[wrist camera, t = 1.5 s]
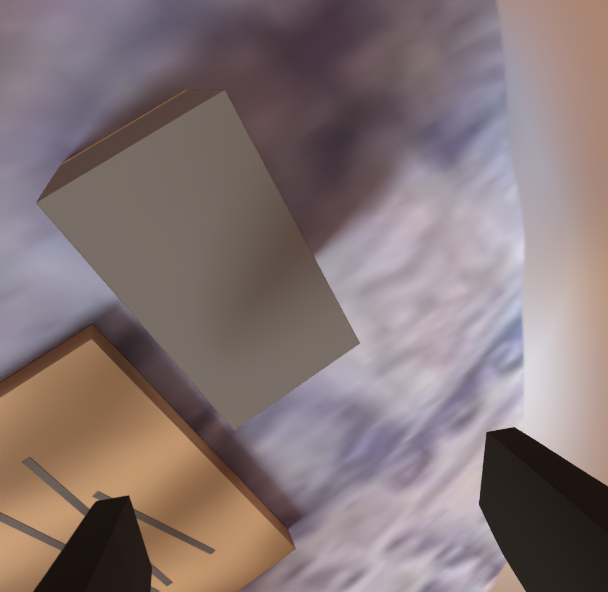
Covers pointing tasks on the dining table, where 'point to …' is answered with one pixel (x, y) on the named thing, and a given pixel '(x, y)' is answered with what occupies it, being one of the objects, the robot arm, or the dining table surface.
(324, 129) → the dining table surface
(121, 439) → the oak board
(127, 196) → the block
